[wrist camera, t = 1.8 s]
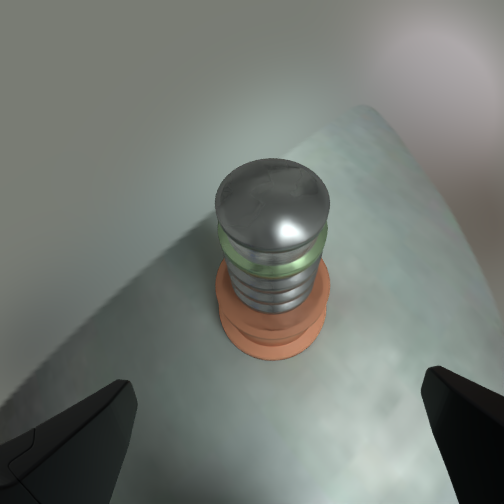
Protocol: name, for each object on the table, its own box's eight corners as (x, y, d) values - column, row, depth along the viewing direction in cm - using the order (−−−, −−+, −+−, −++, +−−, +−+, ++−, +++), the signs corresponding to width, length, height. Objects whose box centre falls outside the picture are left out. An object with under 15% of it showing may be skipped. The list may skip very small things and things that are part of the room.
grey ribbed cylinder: (316, 316, 17) (343, 249, 11) (232, 320, 17) (207, 254, 11) (308, 244, 20) (323, 155, 13) (233, 247, 20) (215, 159, 13)
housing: (328, 357, 21) (343, 340, 16) (220, 361, 21) (205, 345, 17) (318, 261, 25) (328, 224, 20) (222, 265, 25) (211, 229, 21)
